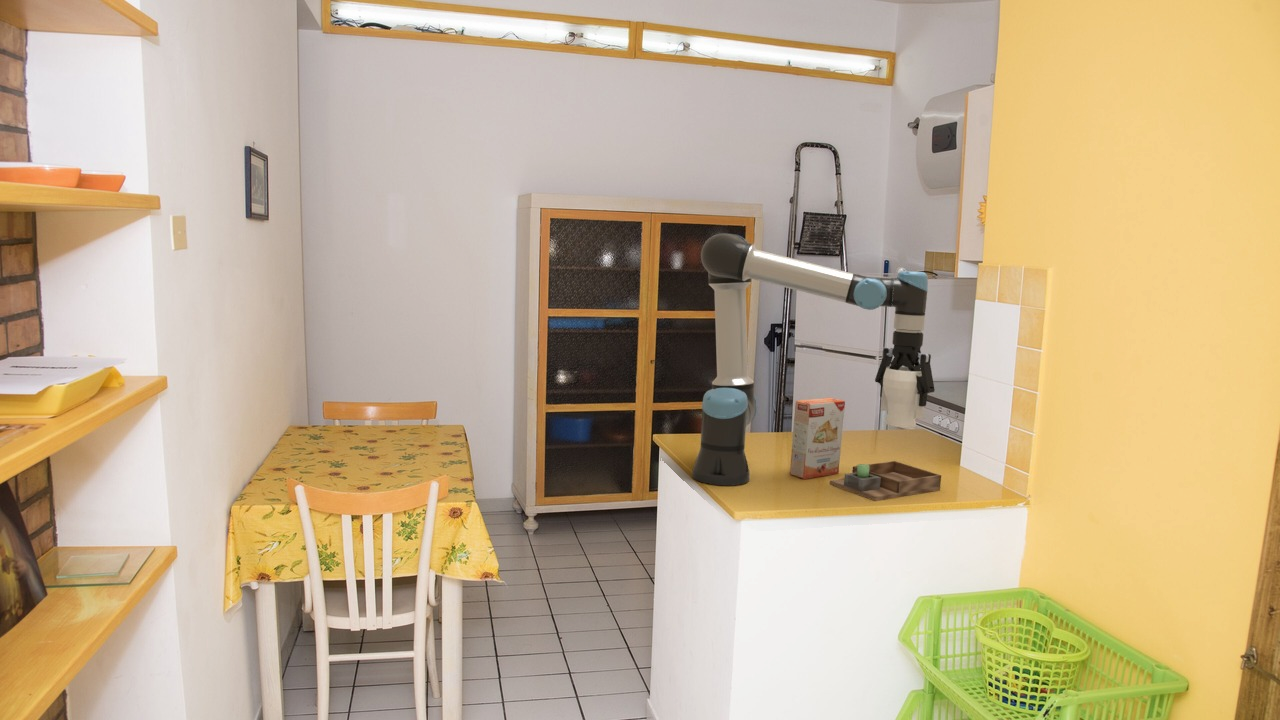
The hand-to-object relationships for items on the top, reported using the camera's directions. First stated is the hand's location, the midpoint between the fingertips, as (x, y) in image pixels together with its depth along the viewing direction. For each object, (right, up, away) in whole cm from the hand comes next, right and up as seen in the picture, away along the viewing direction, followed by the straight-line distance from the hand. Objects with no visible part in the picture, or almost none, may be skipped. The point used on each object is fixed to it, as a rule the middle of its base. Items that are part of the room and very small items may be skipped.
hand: (901, 414), depth 223 cm
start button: (-11, -16, -4) cm, 20 cm away
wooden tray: (-4, -19, 0) cm, 20 cm away
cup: (0, -3, 0) cm, 3 cm away
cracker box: (-21, -18, +10) cm, 29 cm away
